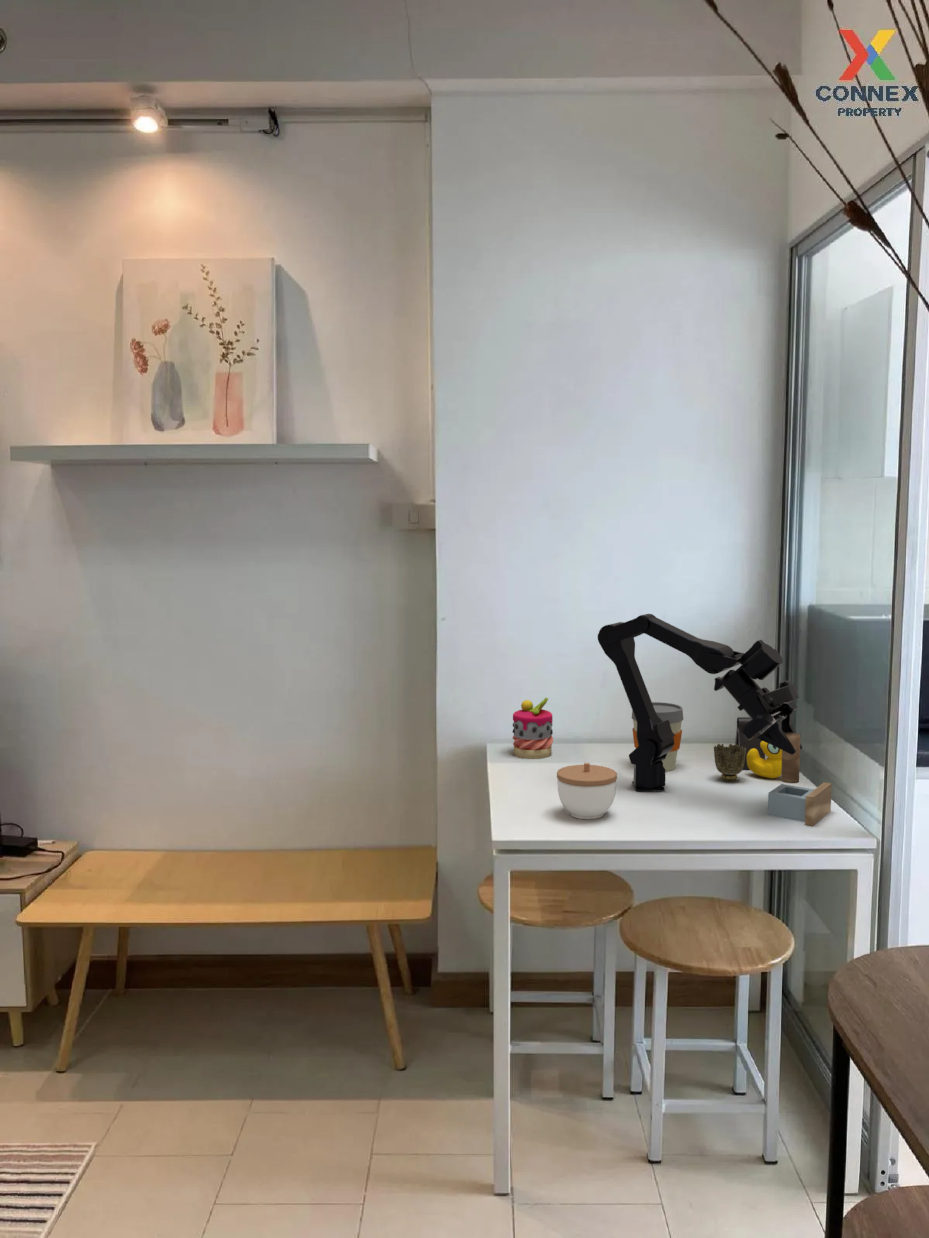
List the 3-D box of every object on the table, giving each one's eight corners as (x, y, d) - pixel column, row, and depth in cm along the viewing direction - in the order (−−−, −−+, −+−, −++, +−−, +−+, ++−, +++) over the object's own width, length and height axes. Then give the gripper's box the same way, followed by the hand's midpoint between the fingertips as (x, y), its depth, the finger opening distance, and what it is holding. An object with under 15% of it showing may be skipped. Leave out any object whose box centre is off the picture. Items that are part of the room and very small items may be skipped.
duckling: (797, 778, 243) (799, 736, 242) (791, 783, 239) (793, 741, 237) (750, 771, 249) (751, 731, 248) (743, 776, 245) (744, 735, 244)
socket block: (767, 815, 216) (768, 792, 216) (780, 806, 223) (781, 783, 222) (805, 822, 212) (806, 799, 211) (818, 812, 218) (819, 789, 217)
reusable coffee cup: (632, 773, 249) (632, 712, 247) (629, 759, 261) (630, 701, 259) (684, 774, 248) (686, 713, 246) (680, 760, 260) (681, 702, 258)
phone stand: (765, 770, 250) (766, 721, 249) (740, 770, 251) (741, 721, 249) (757, 760, 259) (758, 713, 258) (733, 760, 260) (734, 713, 258)
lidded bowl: (544, 815, 217) (544, 764, 216) (578, 801, 227) (578, 752, 226) (595, 827, 209) (595, 774, 208) (628, 812, 219) (628, 761, 217)
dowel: (789, 784, 214) (790, 737, 213) (777, 779, 217) (778, 733, 216) (802, 782, 216) (804, 735, 214) (790, 777, 219) (792, 731, 218)
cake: (512, 759, 263) (512, 701, 261) (512, 749, 273) (512, 693, 271) (553, 759, 262) (553, 701, 261) (551, 749, 273) (551, 693, 271)
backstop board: (804, 824, 210) (805, 796, 209) (823, 809, 219) (823, 782, 219) (812, 826, 209) (813, 797, 208) (830, 810, 218) (831, 783, 218)
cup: (742, 775, 246) (743, 743, 245) (748, 784, 238) (748, 751, 237) (710, 775, 246) (711, 742, 245) (715, 784, 239) (716, 750, 238)
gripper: (758, 676, 208) (811, 737, 203) (789, 663, 223) (839, 719, 218) (720, 710, 214) (771, 769, 209) (753, 695, 229) (801, 750, 224)
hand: (797, 751), depth 215 cm, fingers closed on dowel, 4 cm apart
